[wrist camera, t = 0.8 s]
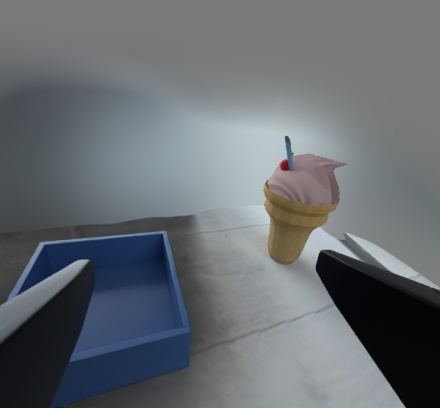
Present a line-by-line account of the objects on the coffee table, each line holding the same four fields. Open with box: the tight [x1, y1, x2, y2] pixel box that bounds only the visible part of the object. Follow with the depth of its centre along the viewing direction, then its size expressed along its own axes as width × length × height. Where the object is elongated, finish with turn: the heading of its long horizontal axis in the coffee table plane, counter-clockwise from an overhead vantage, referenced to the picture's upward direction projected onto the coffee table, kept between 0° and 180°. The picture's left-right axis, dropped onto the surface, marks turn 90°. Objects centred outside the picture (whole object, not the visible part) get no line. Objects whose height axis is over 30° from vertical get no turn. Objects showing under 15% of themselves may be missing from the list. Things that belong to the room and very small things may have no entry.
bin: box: [5, 231, 191, 408], centre depth 24 cm, size 16×15×5 cm
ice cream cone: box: [263, 136, 347, 264], centre depth 35 cm, size 11×11×20 cm
